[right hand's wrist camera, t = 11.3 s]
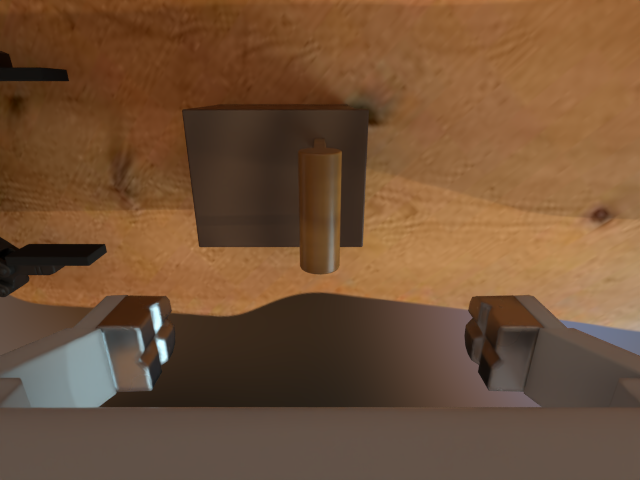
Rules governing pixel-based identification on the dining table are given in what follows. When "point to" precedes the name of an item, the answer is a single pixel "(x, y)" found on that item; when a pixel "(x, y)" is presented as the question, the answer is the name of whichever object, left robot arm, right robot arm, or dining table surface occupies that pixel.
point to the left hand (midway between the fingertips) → (78, 172)
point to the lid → (279, 179)
